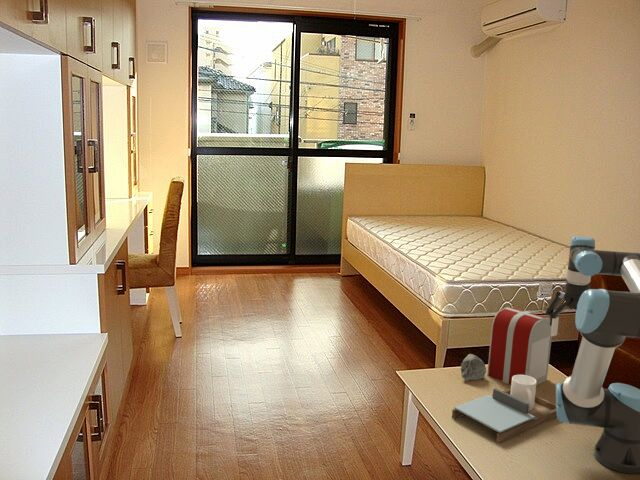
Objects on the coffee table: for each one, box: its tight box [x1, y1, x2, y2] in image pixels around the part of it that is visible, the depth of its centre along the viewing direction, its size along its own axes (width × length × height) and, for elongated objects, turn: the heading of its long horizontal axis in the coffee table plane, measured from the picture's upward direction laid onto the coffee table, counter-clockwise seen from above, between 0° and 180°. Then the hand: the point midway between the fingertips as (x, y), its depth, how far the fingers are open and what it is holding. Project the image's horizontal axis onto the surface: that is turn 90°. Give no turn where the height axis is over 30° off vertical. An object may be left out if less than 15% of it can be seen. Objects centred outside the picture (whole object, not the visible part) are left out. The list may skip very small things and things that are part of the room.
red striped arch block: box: [486, 306, 553, 386], centre depth 248 cm, size 16×18×27 cm
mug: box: [510, 375, 537, 411], centre depth 221 cm, size 12×8×10 cm
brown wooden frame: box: [451, 387, 558, 444], centre depth 218 cm, size 20×34×3 cm, turn 126°
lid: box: [453, 387, 535, 433], centre depth 213 cm, size 19×18×4 cm
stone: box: [460, 353, 487, 382], centre depth 249 cm, size 10×10×10 cm
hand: (571, 341), depth 216 cm, fingers open, 13 cm apart
